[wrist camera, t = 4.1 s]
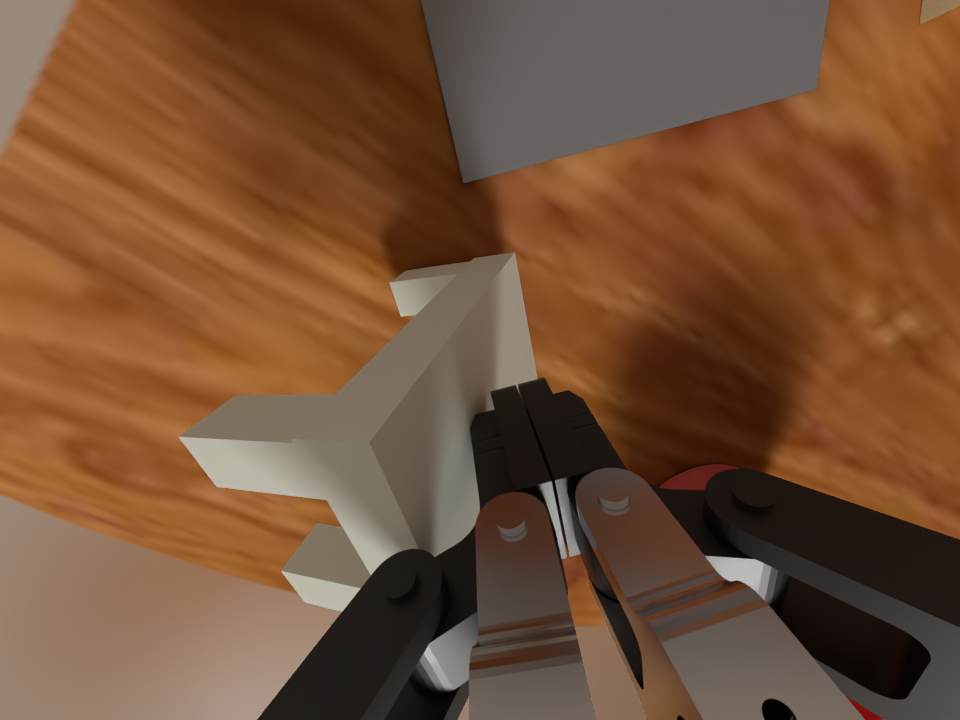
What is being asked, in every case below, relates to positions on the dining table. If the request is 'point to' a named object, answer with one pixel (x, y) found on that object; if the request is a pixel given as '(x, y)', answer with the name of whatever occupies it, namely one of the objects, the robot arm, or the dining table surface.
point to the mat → (609, 69)
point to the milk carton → (936, 8)
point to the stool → (384, 430)
